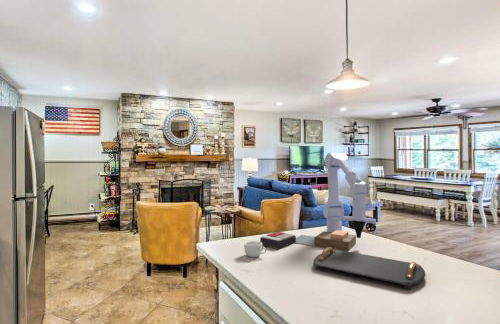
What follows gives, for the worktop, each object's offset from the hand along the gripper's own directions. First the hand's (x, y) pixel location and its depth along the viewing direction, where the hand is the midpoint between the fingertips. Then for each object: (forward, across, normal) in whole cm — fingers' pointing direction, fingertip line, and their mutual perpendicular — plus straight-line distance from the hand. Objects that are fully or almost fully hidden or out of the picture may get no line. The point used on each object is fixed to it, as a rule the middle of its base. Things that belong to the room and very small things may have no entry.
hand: (358, 237), depth 149 cm
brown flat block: (+5, -11, 0) cm, 12 cm away
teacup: (+5, -35, -35) cm, 50 cm away
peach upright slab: (+1, -9, 0) cm, 9 cm away
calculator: (+5, -35, -13) cm, 38 cm away
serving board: (+6, +9, -28) cm, 30 cm away
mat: (+5, -25, 0) cm, 26 cm away
